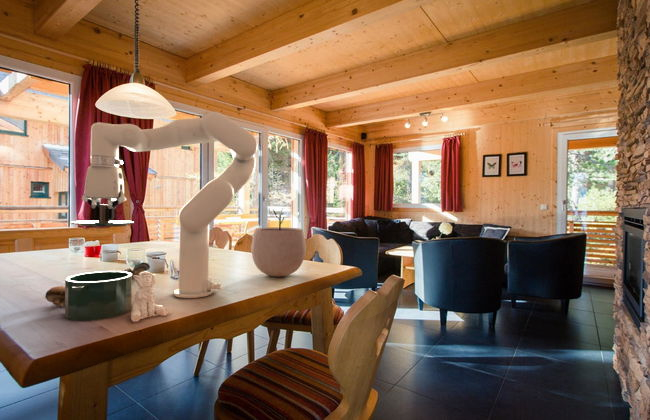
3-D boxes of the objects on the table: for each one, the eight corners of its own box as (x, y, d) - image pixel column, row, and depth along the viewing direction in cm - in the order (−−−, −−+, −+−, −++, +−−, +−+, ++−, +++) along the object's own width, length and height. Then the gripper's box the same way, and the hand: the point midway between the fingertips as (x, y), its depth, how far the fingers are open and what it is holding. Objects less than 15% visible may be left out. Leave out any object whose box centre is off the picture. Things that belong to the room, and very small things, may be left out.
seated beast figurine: (132, 323, 90) (133, 276, 90) (119, 315, 95) (120, 272, 95) (168, 315, 97) (169, 272, 97) (155, 308, 103) (155, 267, 102)
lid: (142, 224, 120) (142, 205, 120) (118, 227, 103) (119, 205, 103) (90, 223, 118) (90, 203, 118) (58, 226, 102) (58, 203, 102)
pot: (144, 301, 110) (145, 269, 110) (108, 324, 89) (108, 284, 89) (92, 301, 109) (93, 269, 109) (43, 324, 88) (44, 284, 88)
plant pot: (314, 273, 161) (315, 208, 161) (288, 283, 139) (289, 208, 139) (270, 268, 171) (271, 207, 171) (239, 277, 149) (240, 207, 149)
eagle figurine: (146, 278, 137) (154, 270, 146) (134, 264, 136) (144, 256, 145) (129, 288, 138) (139, 279, 146) (118, 274, 136) (128, 266, 145)
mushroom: (56, 300, 98) (61, 279, 101) (34, 308, 99) (40, 288, 103) (82, 307, 104) (86, 287, 108) (61, 315, 106) (66, 295, 109)
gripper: (136, 165, 115) (135, 221, 115) (84, 163, 114) (83, 220, 114) (126, 162, 108) (125, 222, 108) (69, 160, 106) (68, 221, 106)
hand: (103, 220), depth 111 cm, fingers closed on lid, 2 cm apart
